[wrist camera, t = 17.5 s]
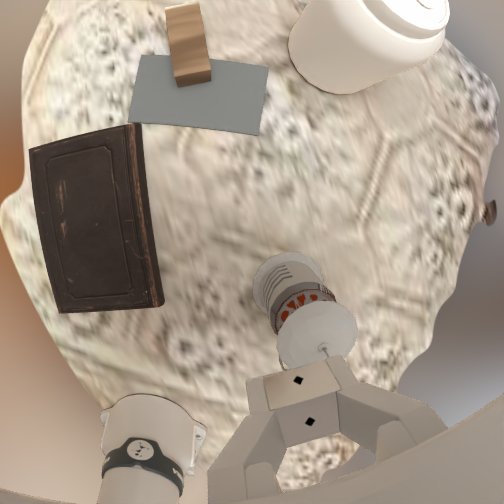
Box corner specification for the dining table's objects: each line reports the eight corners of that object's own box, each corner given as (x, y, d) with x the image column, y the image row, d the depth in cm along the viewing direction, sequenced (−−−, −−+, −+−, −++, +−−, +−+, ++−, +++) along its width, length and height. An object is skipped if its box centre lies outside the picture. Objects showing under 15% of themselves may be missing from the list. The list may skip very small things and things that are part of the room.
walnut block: (210, 69, 30) (198, 1, 27) (174, 76, 29) (164, 7, 27) (211, 81, 33) (199, 16, 31) (178, 87, 33) (168, 22, 31)
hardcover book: (65, 307, 40) (58, 313, 38) (37, 149, 34) (28, 149, 32) (165, 299, 41) (163, 306, 39) (142, 124, 35) (138, 122, 33)
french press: (333, 260, 42) (446, 363, 18) (307, 335, 44) (376, 470, 20) (262, 244, 40) (326, 355, 16) (241, 324, 43) (267, 476, 19)
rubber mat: (257, 135, 36) (258, 135, 36) (128, 122, 34) (127, 121, 34) (268, 68, 34) (268, 67, 34) (142, 55, 32) (141, 54, 32)
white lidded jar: (370, 23, 33) (453, -37, 14) (377, 101, 37) (480, 72, 17) (285, 9, 32) (332, -82, 13) (287, 91, 35) (350, 30, 16)
